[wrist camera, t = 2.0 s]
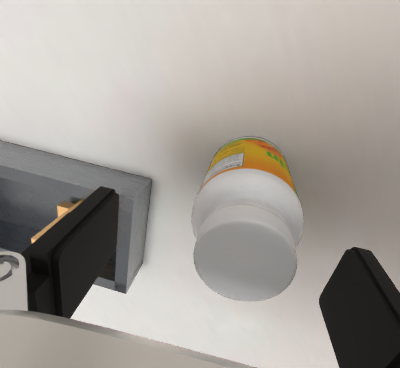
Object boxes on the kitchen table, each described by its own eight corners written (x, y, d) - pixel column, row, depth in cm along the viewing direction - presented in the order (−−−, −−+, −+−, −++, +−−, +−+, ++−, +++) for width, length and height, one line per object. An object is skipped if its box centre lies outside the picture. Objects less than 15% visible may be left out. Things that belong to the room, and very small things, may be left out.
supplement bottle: (300, 185, 18) (344, 293, 10) (234, 215, 20) (221, 327, 12) (263, 119, 17) (275, 176, 8) (196, 159, 19) (149, 238, 10)
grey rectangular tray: (151, 179, 20) (123, 211, 16) (142, 264, 24) (117, 309, 20) (-51, 127, 22) (-129, 143, 17) (-29, 215, 26) (-88, 247, 21)
